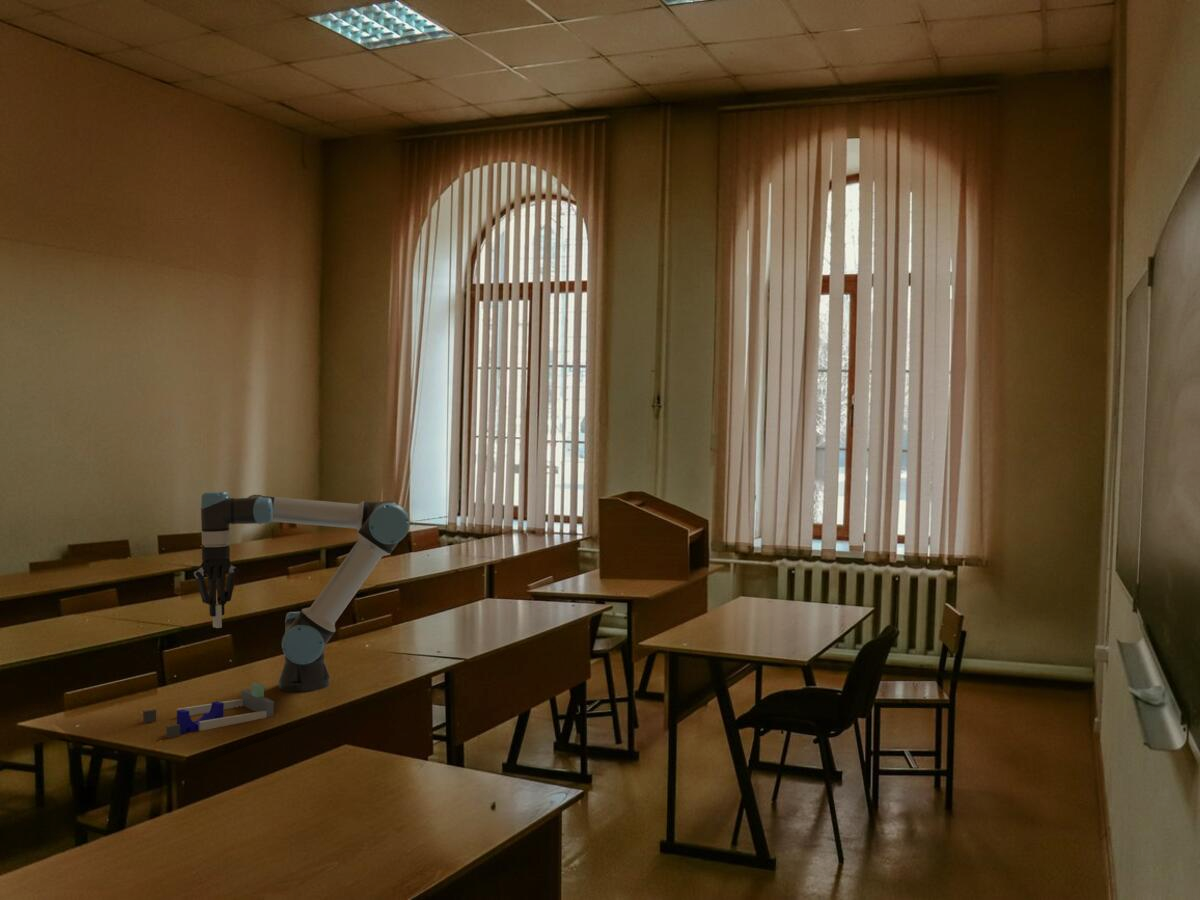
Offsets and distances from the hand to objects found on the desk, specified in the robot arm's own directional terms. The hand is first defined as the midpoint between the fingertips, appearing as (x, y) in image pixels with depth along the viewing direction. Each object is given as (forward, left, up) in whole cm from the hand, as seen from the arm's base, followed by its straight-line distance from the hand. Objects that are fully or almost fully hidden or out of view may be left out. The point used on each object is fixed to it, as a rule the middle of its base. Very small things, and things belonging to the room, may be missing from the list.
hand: (217, 627), depth 295 cm
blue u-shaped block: (+13, +21, -23) cm, 33 cm away
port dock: (+5, +16, -22) cm, 28 cm away
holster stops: (+21, +16, -22) cm, 34 cm away
